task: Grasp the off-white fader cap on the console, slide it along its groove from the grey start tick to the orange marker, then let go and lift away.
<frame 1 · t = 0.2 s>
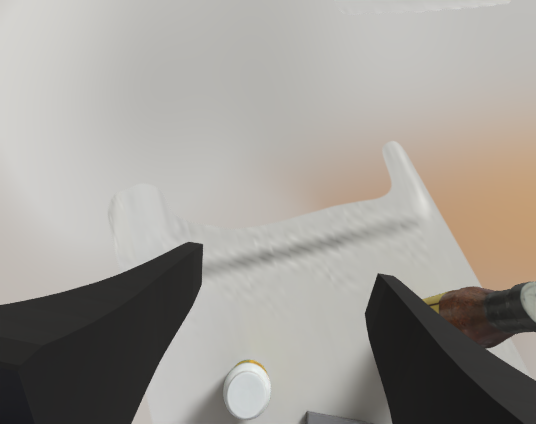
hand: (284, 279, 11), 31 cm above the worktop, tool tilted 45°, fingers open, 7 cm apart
sauce bottle: (415, 323, 40), on the worktop
supplement bottle: (248, 381, 36), on the worktop
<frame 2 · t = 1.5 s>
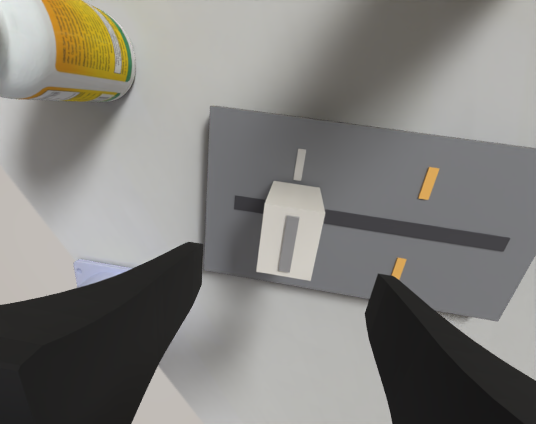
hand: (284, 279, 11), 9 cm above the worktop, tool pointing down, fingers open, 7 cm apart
fader cap: (290, 226, 16), point 4 cm above the worktop, slide at 0.0 cm
supplement bottle: (102, 58, 18), on the worktop
fader console: (361, 214, 20), on the worktop
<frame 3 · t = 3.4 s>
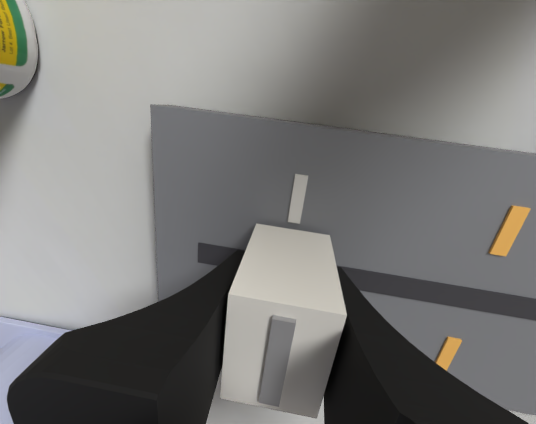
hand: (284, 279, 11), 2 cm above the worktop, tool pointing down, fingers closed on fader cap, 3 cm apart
fader cap: (281, 307, 10), point 4 cm above the worktop, slide at 0.0 cm, touching gripper
fader console: (390, 267, 13), on the worktop
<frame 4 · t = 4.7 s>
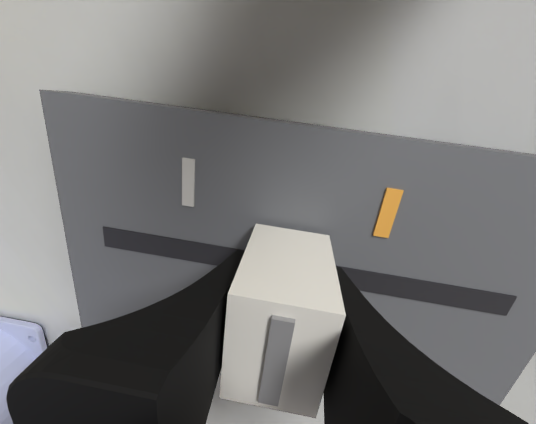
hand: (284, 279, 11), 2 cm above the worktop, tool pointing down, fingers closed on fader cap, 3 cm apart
fader cap: (281, 307, 10), point 4 cm above the worktop, slide at 4.5 cm, touching gripper
fader console: (298, 252, 13), on the worktop
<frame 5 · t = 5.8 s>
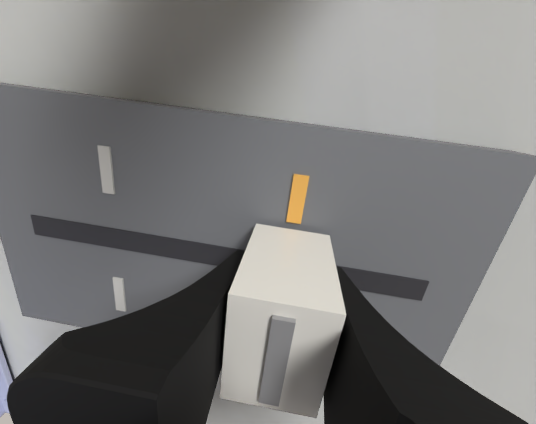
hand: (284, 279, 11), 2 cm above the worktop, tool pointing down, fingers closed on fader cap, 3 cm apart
fader cap: (281, 307, 10), point 4 cm above the worktop, slide at 8.0 cm, touching gripper
fader console: (228, 240, 14), on the worktop
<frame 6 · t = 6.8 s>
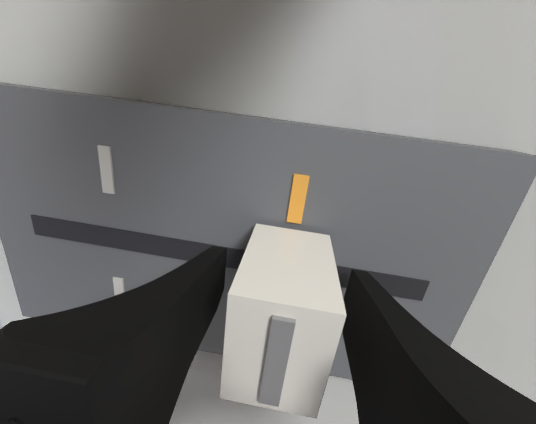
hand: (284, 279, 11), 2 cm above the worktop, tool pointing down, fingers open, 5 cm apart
fader cap: (281, 307, 10), point 4 cm above the worktop, slide at 8.0 cm
fader console: (228, 240, 14), on the worktop
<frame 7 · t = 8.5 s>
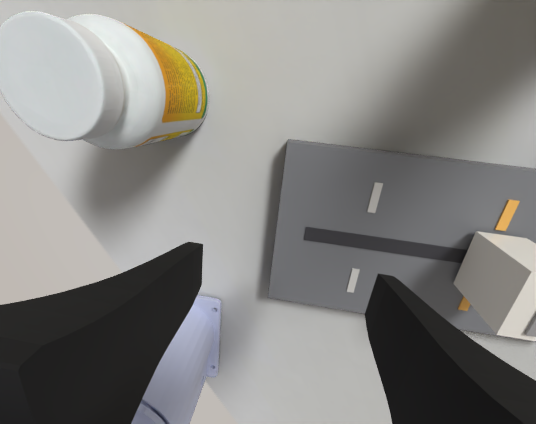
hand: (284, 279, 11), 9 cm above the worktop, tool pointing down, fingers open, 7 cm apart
fader cap: (513, 283, 16), point 4 cm above the worktop, slide at 8.0 cm
supplement bottle: (174, 94, 18), on the worktop
fader console: (429, 242, 20), on the worktop
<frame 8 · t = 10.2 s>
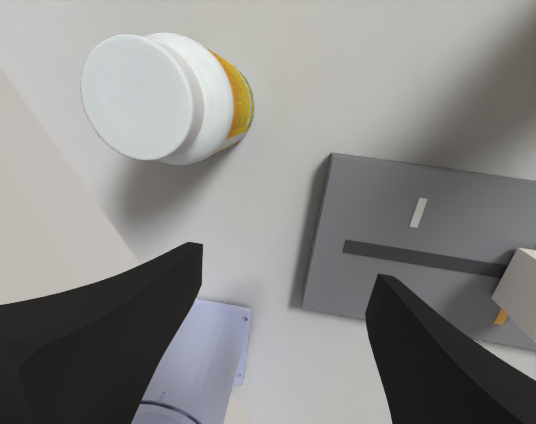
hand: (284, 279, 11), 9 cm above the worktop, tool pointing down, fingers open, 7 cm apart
supplement bottle: (217, 105, 18), on the worktop
fader console: (465, 256, 20), on the worktop
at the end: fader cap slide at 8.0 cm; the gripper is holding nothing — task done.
